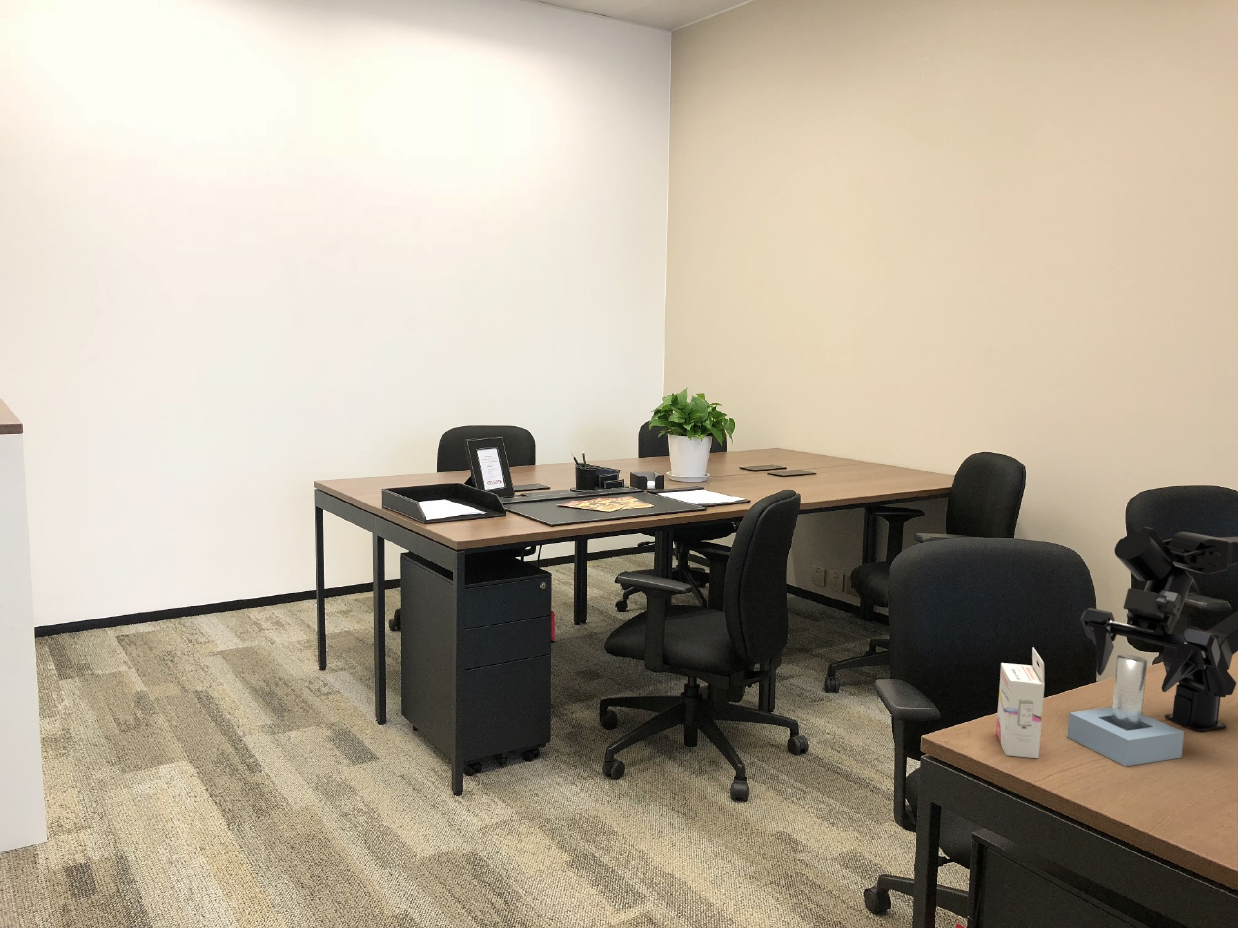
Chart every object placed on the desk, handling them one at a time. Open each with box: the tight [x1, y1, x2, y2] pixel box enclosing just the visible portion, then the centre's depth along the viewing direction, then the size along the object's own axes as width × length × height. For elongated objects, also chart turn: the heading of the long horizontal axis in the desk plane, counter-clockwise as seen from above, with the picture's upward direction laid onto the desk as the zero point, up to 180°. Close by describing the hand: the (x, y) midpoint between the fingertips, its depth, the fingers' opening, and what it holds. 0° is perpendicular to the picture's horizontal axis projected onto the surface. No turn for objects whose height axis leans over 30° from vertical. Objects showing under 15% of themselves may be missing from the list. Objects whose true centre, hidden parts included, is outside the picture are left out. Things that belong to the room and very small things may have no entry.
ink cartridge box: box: [995, 646, 1045, 759], centre depth 145 cm, size 9×5×15 cm, turn 168°
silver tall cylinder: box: [1111, 654, 1148, 731], centre depth 146 cm, size 4×4×14 cm
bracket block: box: [1066, 706, 1185, 767], centre depth 146 cm, size 11×11×4 cm
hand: (1130, 681), depth 145 cm, fingers open, 9 cm apart
